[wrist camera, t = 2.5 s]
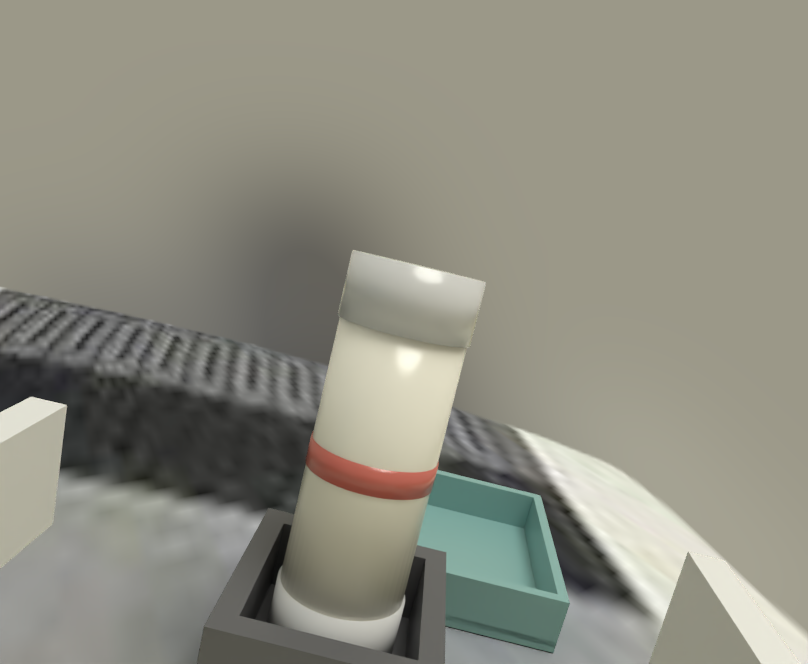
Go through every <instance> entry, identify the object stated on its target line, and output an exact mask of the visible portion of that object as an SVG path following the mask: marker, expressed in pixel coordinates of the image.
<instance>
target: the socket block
mask: <svg viewBox="0 0 808 664" xmlns="http://www.w3.org/2000/svg"><path fill="white" fill-rule="evenodd" d="M293 518H294V514H291V513H287V512H283V511H279V510H275V509H271V508H268V510H267V512H266V514H265V516H264V518H263V519H262V521H261V523H260V525H259V527H258V529H257V530H256V532H255V534H254V536H253V538H252V540H251V541H250V543H249V545H248V547H247V549H246V550H245V552H244V554H243V556H242V558H241V560H240V561H239V563H238V565H237V567H236V569H235V571H234V572H233V574H232V576H231V578H230V580H229V582H228V583H227V585H226V587H225V589H224V591H223V592H222V594H221V596H220V598H219V600H218V602H217V603H216V605H215V607H214V609H213V611H212V613H211V614H210V616H209V618H208V620H207V622H206V624H205V625H204V629H203V634H202V639H201V645H200V650H199V655H198V661H197V664H445V614H446V553H447V552H443V551H439V550H435V549H431V548H427V547H423V546H419V545H417V547H416V551H415V555H414V559H413V563H412V567H411V570H410V574H409V578H408V582H407V586H406V590H405V594H404V595H405V605H404V609H403V613H402V617H401V621H400V625H399V629H398V633H397V637H396V641H395V644H394V648H393V652H392V654H390V653H386V652H382V651H378V650H374V649H370V648H366V647H362V646H358V645H354V644H350V643H346V642H342V641H338V640H334V639H330V638H326V637H322V636H318V635H314V634H310V633H306V632H302V631H298V630H294V629H290V628H286V627H283V626H279V625H275V624H271V623H267V619H268V615H269V611H270V606H271V602H272V598H273V593H274V589H275V585H276V580H277V576H278V572H279V570H280V568H281V566H282V565H283V562H284V557H285V553H286V549H287V544H288V540H289V536H290V531H291V527H292V523H293Z"/></svg>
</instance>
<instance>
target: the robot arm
mask: <svg viewBox="0 0 808 664" xmlns="http://www.w3.org/2000/svg"><path fill="white" fill-rule="evenodd" d="M66 409H67V405H64V404H60V403H56V402H51V401H47V400H43V399H39V398H34V397H30V398H28V399H26V400H24V401H22V402H20V403H18V404H16V405H14V406H12V407H10V408H8V409H6V410H4V411H2V412H0V568H1V567H3V566H4V565H5V564H6V563H7V562H8V561H10V560H11V559H12V558H13V557H14V556H16V555H17V554H18V553H19V552H20V551H21V550H23V549H24V548H25V547H26V546H27V545H28V544H30V543H31V542H32V541H33V540H34V539H35V538H37V537H38V536H39V535H40V534H41V533H43V532H44V531H45V530H46V529H47V528H48V527H50V526H51V525H52V524H53V519H54V511H55V502H56V494H57V485H58V477H59V468H60V460H61V451H62V443H63V434H64V426H65V417H66ZM649 664H801V663H800V662H799V660H798V659H797V658H796V656H795V655H794V654H793V652H792V651H791V649H790V648H789V647H788V645H787V644H786V643H785V641H784V640H783V639H782V637H781V636H780V635H779V633H778V632H777V630H776V629H775V628H774V626H773V625H772V624H771V622H770V621H769V620H768V618H767V617H766V615H765V614H764V613H763V611H762V610H761V609H760V607H759V606H758V605H757V603H756V602H755V601H754V599H753V598H752V596H751V595H750V594H749V592H748V591H747V590H746V588H745V587H744V586H743V584H742V583H741V582H740V580H739V579H738V577H737V576H736V575H735V573H734V572H733V571H732V569H731V568H730V567H729V565H728V564H727V562H726V561H725V560H721V559H717V558H713V557H709V556H704V555H700V554H696V553H692V552H688V553H687V556H686V559H685V562H684V565H683V568H682V570H681V573H680V576H679V579H678V582H677V585H676V588H675V590H674V593H673V596H672V599H671V602H670V605H669V608H668V611H667V613H666V616H665V619H664V622H663V625H662V628H661V631H660V633H659V636H658V639H657V642H656V645H655V648H654V651H653V653H652V656H651V659H650V662H649Z"/></svg>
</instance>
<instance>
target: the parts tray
mask: <svg viewBox="0 0 808 664" xmlns="http://www.w3.org/2000/svg"><path fill="white" fill-rule="evenodd" d="M417 545H419V546H423V547H427V548H431V549H435V550H439V551H443V552H447V553H446V614H445V626H448V627H452V628H456V629H460V630H464V631H468V632H472V633H476V634H480V635H484V636H488V637H492V638H496V639H500V640H504V641H508V642H512V643H516V644H520V645H524V646H528V647H532V648H536V649H540V650H544V651H548V652H552V653H553V652H554V649H555V646H556V643H557V640H558V637H559V634H560V631H561V628H562V625H563V622H564V619H565V616H566V613H567V610H568V607H569V604H570V602H569V599H568V595H567V591H566V588H565V584H564V580H563V577H562V573H561V569H560V566H559V562H558V558H557V555H556V551H555V547H554V543H553V540H552V536H551V532H550V529H549V525H548V521H547V518H546V514H545V510H544V507H543V503H542V499H541V496H540V495H536V494H532V493H528V492H524V491H520V490H516V489H512V488H508V487H504V486H500V485H496V484H492V483H488V482H484V481H480V480H476V479H471V478H467V477H463V476H459V475H455V474H451V473H447V472H443V471H439V470H437V473H436V477H435V481H434V485H433V489H432V492H431V493H430V495H429V499H428V503H427V507H426V511H425V515H424V519H423V523H422V527H421V531H420V535H419V539H418V543H417Z"/></svg>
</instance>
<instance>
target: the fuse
mask: <svg viewBox="0 0 808 664" xmlns="http://www.w3.org/2000/svg"><path fill="white" fill-rule="evenodd" d="M485 285H486V282H484V281H480V280H477V279H473V278H469V277H465V276H461V275H457V274H453V273H449V272H445V271H441V270H437V269H432V268H428V267H424V266H420V265H416V264H412V263H408V262H404V261H399V260H395V259H391V258H387V257H382V256H378V255H373V254H370V253H365V252H360V251H355V250H352V254H351V259H350V264H349V268H348V272H347V276H346V281H345V285H344V289H343V293H342V298H341V302H340V307H339V311H338V316H340V319H339V324H338V327H337V332H336V336H335V341H334V345H333V349H332V354H331V358H330V362H329V367H328V371H327V375H326V380H325V384H324V388H323V393H322V397H321V401H320V406H319V410H318V414H317V419H316V423H315V427H314V431H313V432H312V434H311V439H310V443H309V447H308V452H307V456H306V466H305V471H304V475H303V479H302V484H301V488H300V492H299V497H298V501H297V505H296V510H295V514H294V518H293V523H292V527H291V531H290V536H289V540H288V544H287V549H286V553H285V557H284V562H283V565H282V566H281V568H280V570H279V572H278V576H277V580H276V585H275V589H274V593H273V598H272V602H271V606H270V611H269V615H268V619H267V623H271V624H275V625H279V626H283V627H286V628H290V629H294V630H298V631H302V632H306V633H310V634H314V635H318V636H322V637H326V638H330V639H334V640H338V641H342V642H346V643H350V644H354V645H358V646H362V647H366V648H370V649H374V650H378V651H382V652H386V653H390V654H392V652H393V648H394V644H395V641H396V637H397V633H398V629H399V625H400V621H401V617H402V613H403V609H404V605H405V595H404V594H405V590H406V586H407V582H408V578H409V574H410V570H411V567H412V563H413V559H414V555H415V551H416V547H417V543H418V539H419V535H420V531H421V527H422V523H423V519H424V515H425V511H426V507H427V503H428V499H429V495H430V493H431V492H432V489H433V485H434V481H435V477H436V473H437V469H438V465H439V462H438V460H439V456H440V452H441V448H442V444H443V440H444V436H445V432H446V428H447V424H448V420H449V416H450V412H451V408H452V404H453V400H454V396H455V392H456V388H457V385H458V381H459V377H460V373H461V369H462V365H463V361H464V357H465V353H466V349H467V347H470V344H471V340H472V336H473V332H474V329H475V324H476V320H477V317H478V313H479V309H480V304H481V301H482V297H483V293H484V289H485Z"/></svg>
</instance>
